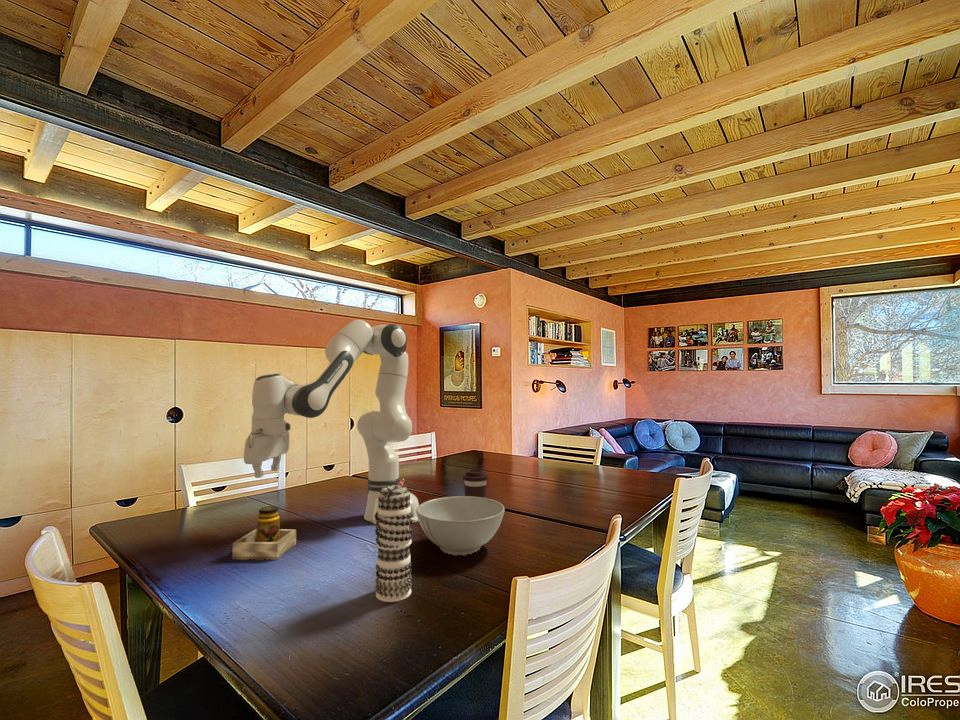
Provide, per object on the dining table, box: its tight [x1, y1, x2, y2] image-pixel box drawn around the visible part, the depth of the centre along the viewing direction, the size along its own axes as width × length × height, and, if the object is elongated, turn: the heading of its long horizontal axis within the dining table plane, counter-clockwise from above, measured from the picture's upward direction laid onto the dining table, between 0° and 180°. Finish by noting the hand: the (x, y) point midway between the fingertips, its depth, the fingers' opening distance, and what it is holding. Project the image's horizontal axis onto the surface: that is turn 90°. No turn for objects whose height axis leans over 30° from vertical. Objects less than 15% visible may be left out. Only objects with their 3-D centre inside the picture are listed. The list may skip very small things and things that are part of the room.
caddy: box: [231, 528, 297, 561], centre depth 131 cm, size 13×12×4 cm
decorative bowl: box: [416, 495, 506, 556], centre depth 134 cm, size 27×27×12 cm
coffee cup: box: [462, 468, 489, 498], centre depth 174 cm, size 10×10×15 cm
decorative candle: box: [374, 485, 414, 603], centre depth 106 cm, size 9×9×25 cm
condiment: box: [256, 505, 281, 542], centre depth 132 cm, size 7×8×12 cm
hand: (267, 473), depth 132 cm, fingers open, 8 cm apart
